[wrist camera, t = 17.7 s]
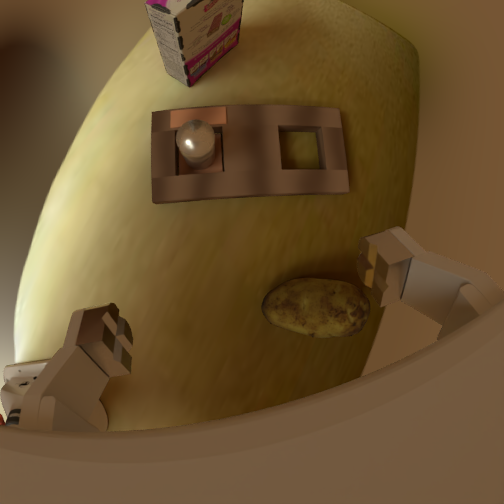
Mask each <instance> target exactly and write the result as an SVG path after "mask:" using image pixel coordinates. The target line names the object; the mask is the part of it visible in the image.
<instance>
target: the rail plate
mask: <svg viewBox="0 0 504 504" xmlns="http://www.w3.org/2000/svg"><path fill="white" fill-rule="evenodd" d="M195 119H198V120H203V121H205V122H207V123H208V124H210V126H211V127H212V128H213V131H214V133H222V142H223V161H224V172H223V170H222V151H221V134H214V136H215V159H214V161H213V163H212V164H211V165H210V166H209V167H208V168H206V169H203V170H196V169H193V168H191V167H190V166H188V164H187V163H186V161H185V159H184V157H183V155H182V153H181V151H180V149H179V175H178V158H177V142H176V135H177V132H178V130H179V128H180V127H181V126H182V125H183V124H184V123H186V122H187V121H190V120H195ZM278 131H291V132H316V138H317V147H318V156H319V165H320V169H295V170H282V167H281V155H280V144H279V133H278ZM151 173H152V202H153V203H155V204H165V203H175V202H187V201H199V200H212V199H227V198H244V197H263V196H287V195H325V194H345V193H348V192H349V181H348V171H347V162H346V154H345V146H344V138H343V131H342V124H341V118H340V112H339V109H338V108H328V107H315V106H298V105H222V106H205V107H192V108H181V109H172V110H163V111H155V112H152V130H151Z"/></svg>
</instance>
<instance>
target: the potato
mask: <svg viewBox="0 0 504 504" xmlns="http://www.w3.org/2000/svg"><path fill="white" fill-rule="evenodd" d="M261 308H262V312H263V314H264V316H265V317H266V319H267V320H268V321H269V322H270V324H274V325H276V326H278V327H281V328H284V329H287V330H290V331H293V332H297V333H301V334H305V335H309V336H312V337H317V338H330V337H335V336H340V337H345V336H352V335H354V334H357V333H358V332H360V331H361V330H362V328H363V327H364V325H365V323H366V321H367V319H368V316H369V313H370V303H369V300H368V298H367V297H366V295H365V294H364V293H363V292H362V290H360V289H359V288H357V287H356V286H355V285H353V284H351V283H348V282H344V281H339V280H333V279H317V278H299V279H293V280H289V281H287V282H284V283H283V284H281V285H279V286H278V287H276V288H275V289H273V290H272V291H270V292H269V293H268V294H267V295H266V296H265V298H264V300H263V303H262V307H261Z"/></svg>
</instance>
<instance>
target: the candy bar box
mask: <svg viewBox="0 0 504 504" xmlns="http://www.w3.org/2000/svg"><path fill="white" fill-rule="evenodd" d="M243 2H244V0H147V1H146V2H145V6H146V10H147V13H148V16H149V19H150V22H151V25H152V28H153V32H154V35H155V38H156V40H157V44H158V47H159V50H160V53H161V56H162V59H163V63H164V65H165V69H166V71H167V73H168V74H169V75H171V76H172V77H174V78H176V79H178V80H179V81H180V82H182V83H183V84H185V85H186V86H188V87H191V86H192V85H193V84H194V83H195V82H196V81H197V80H198V79H199V78H200V77H201V76H202V75H203V74H204V73H205V72H206V71H207V70H208V69H210V68H211V67H212V66H213V65H214V64H215V63H216V62H217V61H218V60H219V59H220V58H222V57H223V56H224V55H225V54H226V53H227V52H228V51H230V50H231V49H232V48H233V47H234V46H236V45H237V44H238V40H239V32H240V24H241V17H242V8H243Z"/></svg>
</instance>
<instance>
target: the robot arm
mask: <svg viewBox="0 0 504 504" xmlns="http://www.w3.org/2000/svg"><path fill="white" fill-rule="evenodd" d="M358 248H359V250H360V251H361V254H360V255H359V257H358V258H357V270H358V274H359V277H360V279H361V281H362V282H363V284H364V285H366V286H368V287H370V288H371V295H372V296H373V298H374V299H375V301H376V302H377V303H378V305H379V306H380V307H382V306H385V305H388V304H391V303H393V302H396V301H399V300H401V301H402V302H404V303H405V304H407V305H409V306H410V307H412V308H414V309H416V310H417V311H419V312H421V313H422V314H424V315H426V316H427V317H429V318H431V319H432V320H434V321H436V322H437V323H439V324H441V325H442V328H441V330H440V332H439V335H438V337H437V340H438V341H436V342H434V343H432V344H431V345H429V346H427V347H425V348H423V349H421V350H419V351H417V352H415V353H413V354H411V355H409V356H407V357H405V358H403V359H401V360H399V361H397V362H395V363H393V364H390V365H388V366H386V367H384V368H381V369H379V370H377V371H375V372H372V373H370V374H367V375H365V376H362V377H360V378H357V379H355V380H352V381H350V382H347V383H345V384H342V385H339V386H337V387H334V388H331V389H328V390H325V391H323V392H320V393H317V394H314V395H311V396H307V397H304V398H301V399H298V400H295V401H291V402H288V403H284V404H281V405H277V406H274V407H270V408H266V409H262V410H258V411H254V412H250V413H246V414H242V415H237V416H232V417H228V418H223V419H218V420H212V421H207V422H201V423H195V424H188V425H181V426H174V427H166V428H156V429H146V430H133V431H114V432H106V430H107V426H108V419H107V414H106V412H105V409H104V407H103V405H102V403H101V402H100V400H99V398H100V396H101V394H102V392H103V390H104V388H105V387H106V385H107V383H108V381H109V379H110V378H109V377H115V376H121V375H126V374H131V360H132V357H131V356H130V354H129V353H128V352H129V350H130V349H131V347H132V345H133V337H132V332H131V329H130V326H129V324H128V323H127V321H126V320H125V319H124V318H122V317H120V316H119V309H118V308H117V306H116V305H115V304H114V303H106V304H102V305H97V306H92V307H87V308H84V309H79V310H75V311H74V312H73V313H72V317H71V320H70V323H69V327H68V331H67V334H66V338H65V342H64V346H63V348H61V349H59V350H58V351H57V353H56V354H55V355H54V356H53V358H52V359H49V360H43V361H36V362H29V363H21V364H14V365H7V366H6V367H5V368H4V382H5V385H4V386H3V387H2V389H1V394H0V396H1V402H2V405H3V408H4V411H5V413H6V416H7V420H6V423H5V422H4V420H3V417H2V415H1V414H0V504H504V291H503V290H502V289H501V288H500V287H499V286H498V285H497V284H496V283H495V282H494V281H493V280H492V279H491V277H490V276H489V275H488V274H487V273H485V272H483V271H481V270H478V269H476V268H473V267H470V266H468V265H465V264H463V263H460V262H458V261H455V260H452V259H449V258H447V257H444V256H442V255H439V254H436V253H433V252H430V251H429V252H426V251H425V250H424V249H423V248H422V247H421V246H420V245H419V244H418V243H417V242H416V241H415V240H414V239H413V238H412V237H411V236H410V235H408V234H407V233H406V232H405V231H404V230H403V229H402V228H401V227H398V226H397V227H394V228H391V229H388V230H385V231H382V232H379V233H375V234H372V235H368V236H365V237H361V238H360V240H359V244H358Z"/></svg>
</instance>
